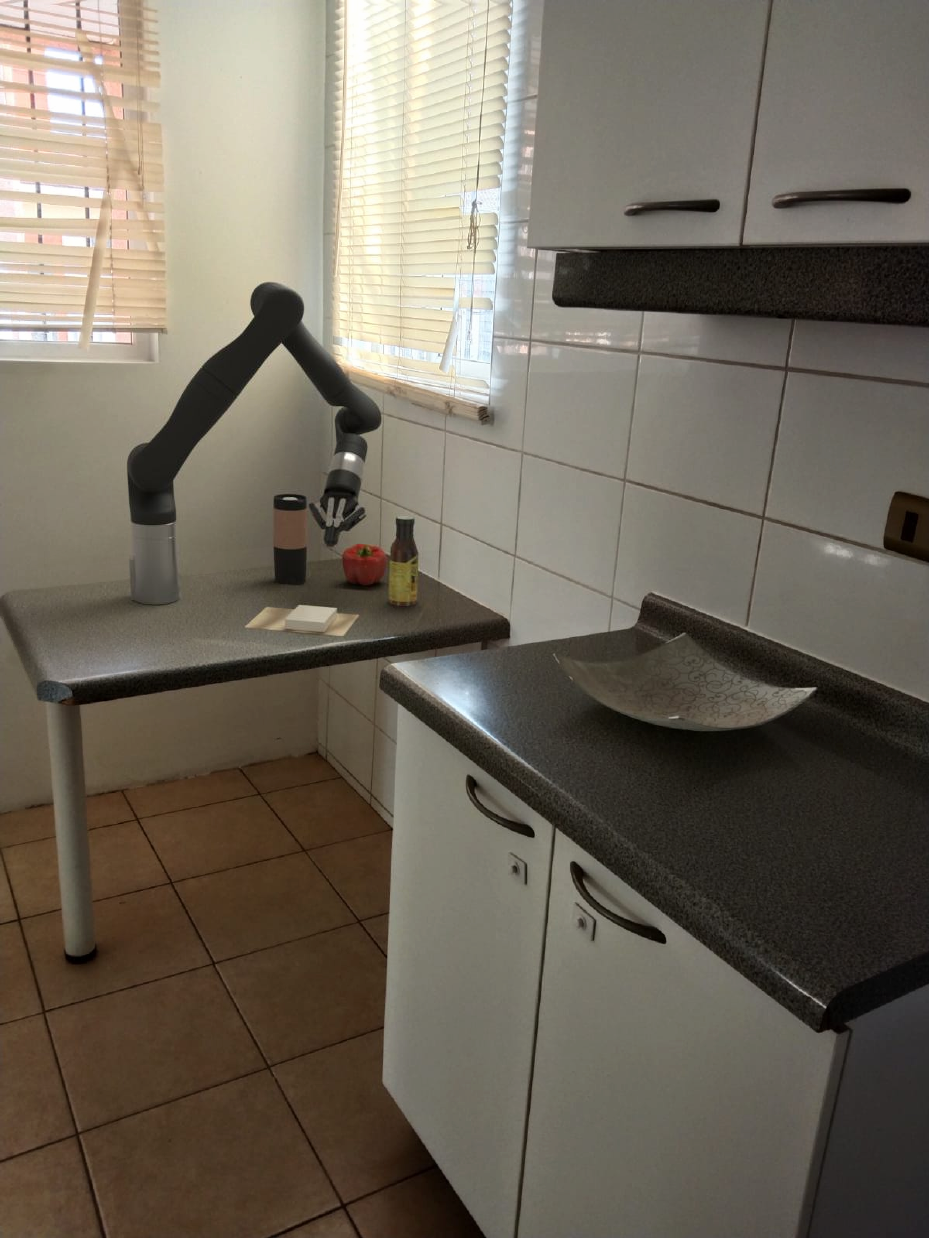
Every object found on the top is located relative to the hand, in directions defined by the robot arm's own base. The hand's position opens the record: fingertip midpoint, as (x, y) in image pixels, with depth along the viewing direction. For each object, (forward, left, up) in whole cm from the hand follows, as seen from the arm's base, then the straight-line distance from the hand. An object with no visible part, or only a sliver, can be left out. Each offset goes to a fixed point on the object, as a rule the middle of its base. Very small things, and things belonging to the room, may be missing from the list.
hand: (329, 544), depth 212 cm
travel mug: (-14, +18, -14) cm, 27 cm away
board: (-2, -13, -14) cm, 19 cm away
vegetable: (+3, +21, -14) cm, 26 cm away
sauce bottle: (+15, +6, -14) cm, 22 cm away
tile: (0, -9, -12) cm, 15 cm away
